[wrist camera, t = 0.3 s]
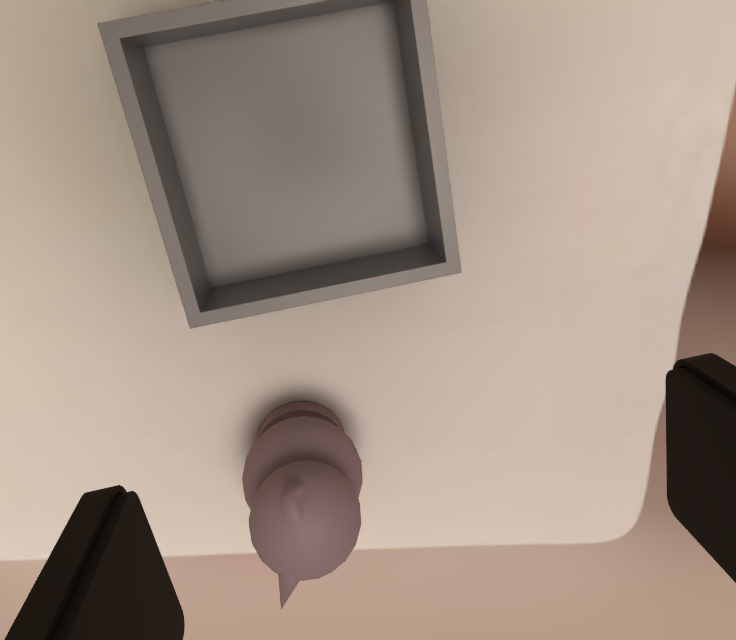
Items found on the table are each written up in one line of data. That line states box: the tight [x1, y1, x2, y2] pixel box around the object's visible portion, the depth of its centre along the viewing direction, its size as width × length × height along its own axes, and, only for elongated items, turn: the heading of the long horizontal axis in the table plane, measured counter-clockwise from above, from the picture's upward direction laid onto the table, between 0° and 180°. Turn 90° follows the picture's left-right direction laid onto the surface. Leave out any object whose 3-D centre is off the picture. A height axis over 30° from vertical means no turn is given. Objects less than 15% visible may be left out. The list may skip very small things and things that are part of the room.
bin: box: [98, 0, 462, 329], centre depth 35 cm, size 16×16×6 cm
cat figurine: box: [242, 401, 362, 609], centre depth 39 cm, size 8×8×12 cm
